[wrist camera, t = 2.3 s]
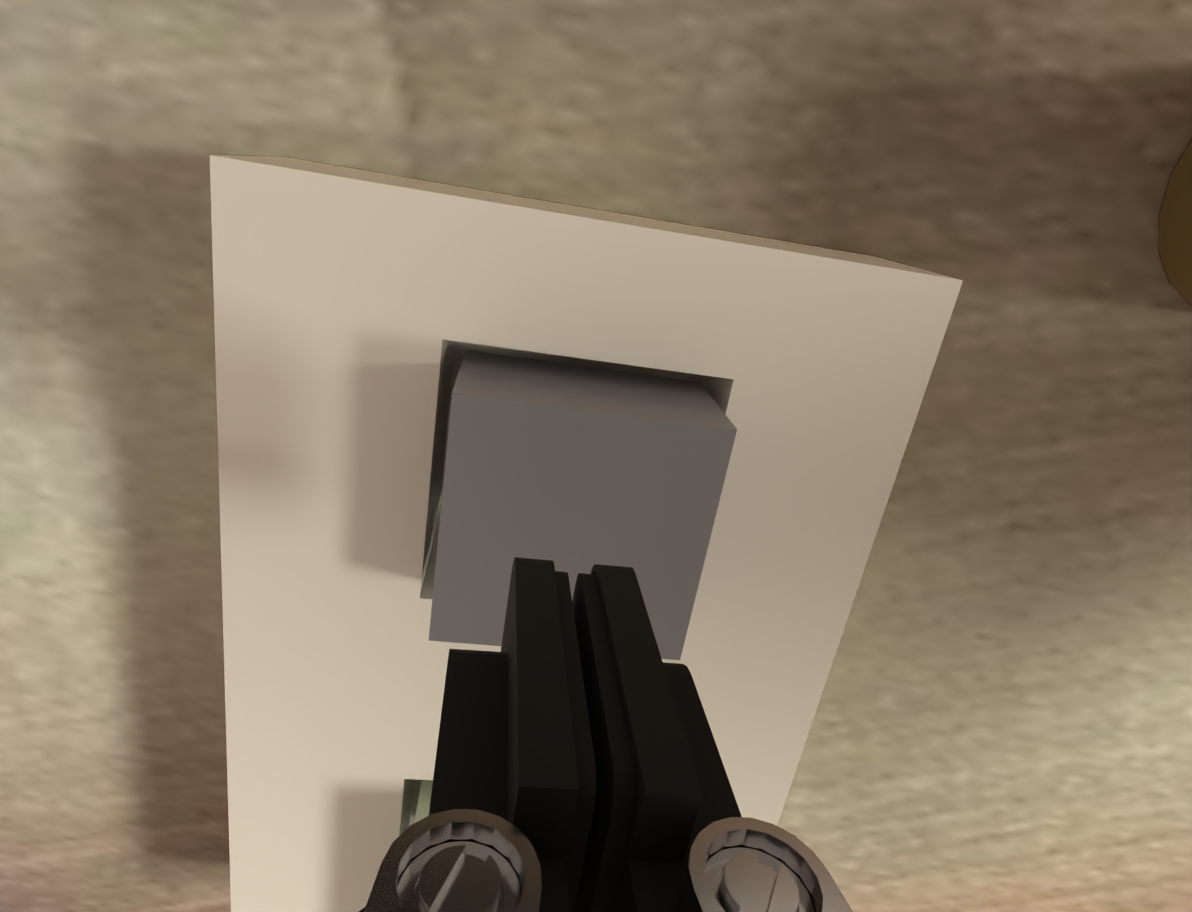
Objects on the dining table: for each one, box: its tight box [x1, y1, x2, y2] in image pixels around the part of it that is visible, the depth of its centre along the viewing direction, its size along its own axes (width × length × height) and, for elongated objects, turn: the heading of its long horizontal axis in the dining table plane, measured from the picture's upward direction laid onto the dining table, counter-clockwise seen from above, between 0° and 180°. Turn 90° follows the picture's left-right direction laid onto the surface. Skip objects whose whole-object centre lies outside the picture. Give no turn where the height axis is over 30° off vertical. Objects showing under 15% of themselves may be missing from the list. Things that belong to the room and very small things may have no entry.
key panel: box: [210, 155, 963, 912], centre depth 19 cm, size 14×22×4 cm, turn 171°
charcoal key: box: [428, 350, 737, 660], centre depth 15 cm, size 5×5×3 cm
